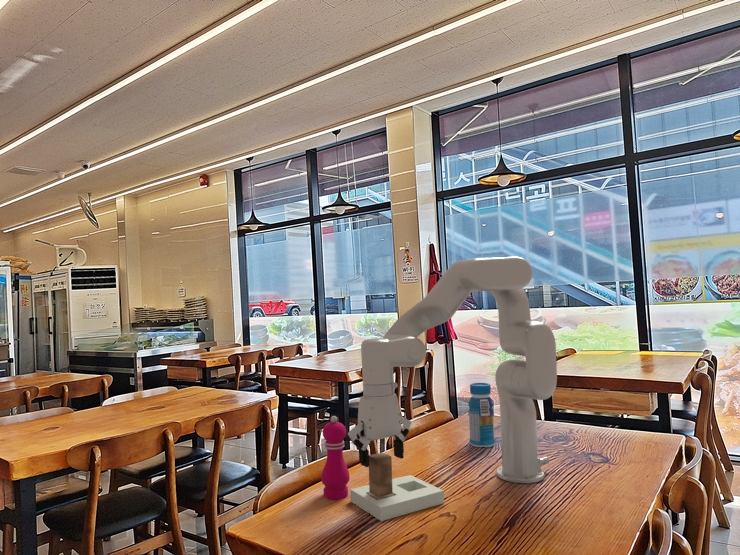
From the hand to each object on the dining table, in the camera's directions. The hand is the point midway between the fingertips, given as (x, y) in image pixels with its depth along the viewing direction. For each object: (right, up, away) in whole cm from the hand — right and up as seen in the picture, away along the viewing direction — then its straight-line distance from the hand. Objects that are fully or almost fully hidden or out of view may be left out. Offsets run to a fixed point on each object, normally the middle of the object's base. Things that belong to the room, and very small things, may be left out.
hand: (382, 461), depth 129 cm
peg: (0, -11, -1) cm, 11 cm away
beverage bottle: (+34, -12, +49) cm, 61 cm away
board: (+4, -11, +2) cm, 11 cm away
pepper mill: (-12, -11, +8) cm, 18 cm away
